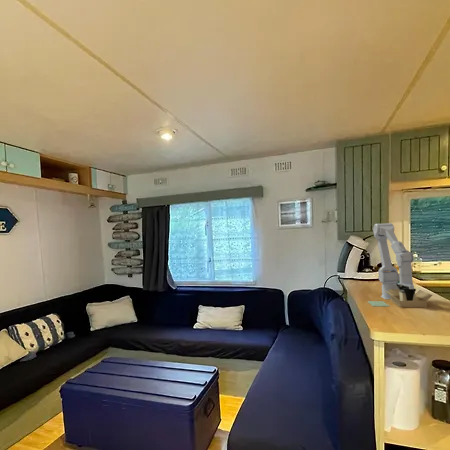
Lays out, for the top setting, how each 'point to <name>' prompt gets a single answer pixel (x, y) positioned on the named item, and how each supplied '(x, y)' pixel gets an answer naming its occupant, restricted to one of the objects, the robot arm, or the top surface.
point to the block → (404, 296)
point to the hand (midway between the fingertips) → (407, 300)
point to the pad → (378, 303)
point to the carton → (420, 301)
